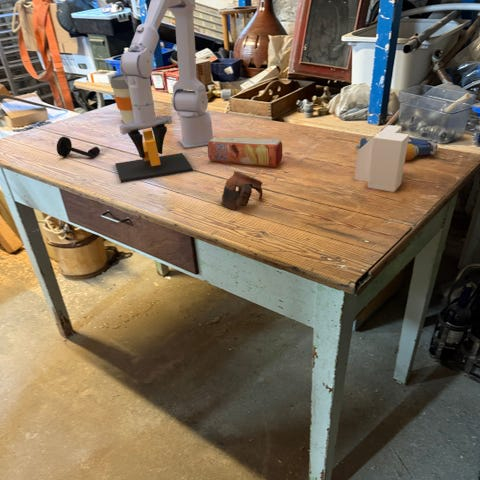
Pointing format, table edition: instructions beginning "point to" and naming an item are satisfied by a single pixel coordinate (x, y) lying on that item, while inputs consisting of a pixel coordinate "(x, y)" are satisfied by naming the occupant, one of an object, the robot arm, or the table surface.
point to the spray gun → (412, 146)
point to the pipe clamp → (150, 148)
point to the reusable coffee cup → (122, 97)
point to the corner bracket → (383, 159)
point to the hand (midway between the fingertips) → (151, 155)
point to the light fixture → (66, 147)
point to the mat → (153, 168)
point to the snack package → (245, 151)
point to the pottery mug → (240, 190)
